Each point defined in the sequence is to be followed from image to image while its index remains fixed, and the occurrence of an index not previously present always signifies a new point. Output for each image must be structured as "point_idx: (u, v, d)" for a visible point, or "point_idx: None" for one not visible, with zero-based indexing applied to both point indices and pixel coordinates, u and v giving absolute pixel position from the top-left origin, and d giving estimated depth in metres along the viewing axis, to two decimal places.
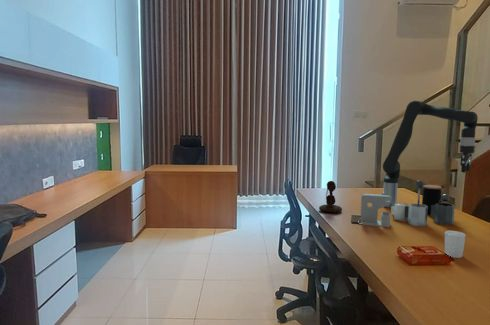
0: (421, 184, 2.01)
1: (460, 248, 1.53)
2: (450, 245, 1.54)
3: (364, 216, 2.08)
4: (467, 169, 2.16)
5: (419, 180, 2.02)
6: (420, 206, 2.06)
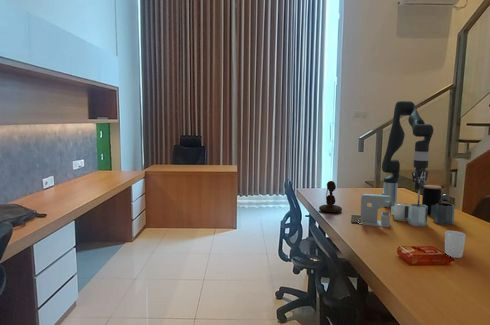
0: (421, 184, 2.01)
1: (460, 248, 1.53)
2: (450, 245, 1.54)
3: (364, 216, 2.08)
4: None
5: None
6: None
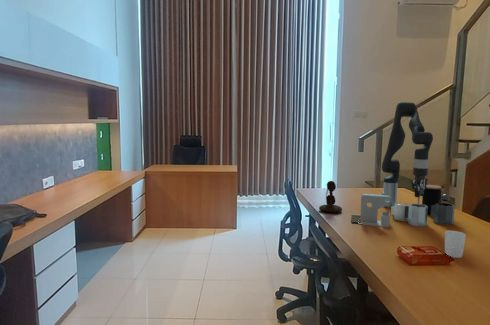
0: (421, 192, 2.01)
1: (460, 248, 1.53)
2: (450, 245, 1.54)
3: (364, 216, 2.08)
4: None
5: None
6: None
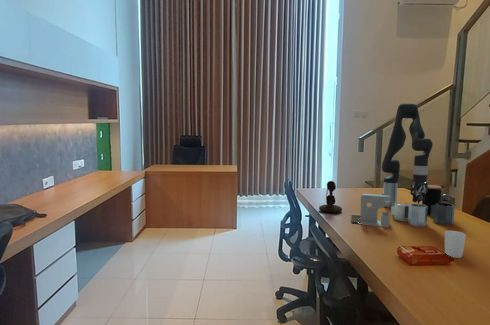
0: (420, 198, 2.01)
1: (460, 248, 1.53)
2: (450, 245, 1.54)
3: (364, 216, 2.08)
4: None
5: (418, 194, 2.03)
6: None
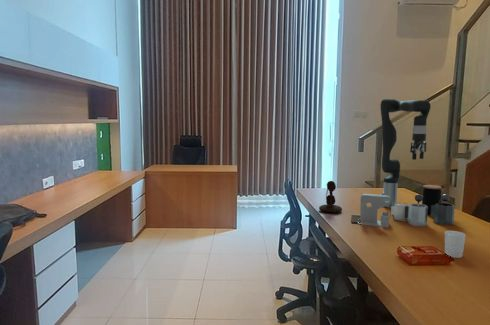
0: (420, 198, 2.01)
1: (460, 248, 1.53)
2: (450, 245, 1.54)
3: (364, 216, 2.08)
4: None
5: (418, 194, 2.03)
6: None
